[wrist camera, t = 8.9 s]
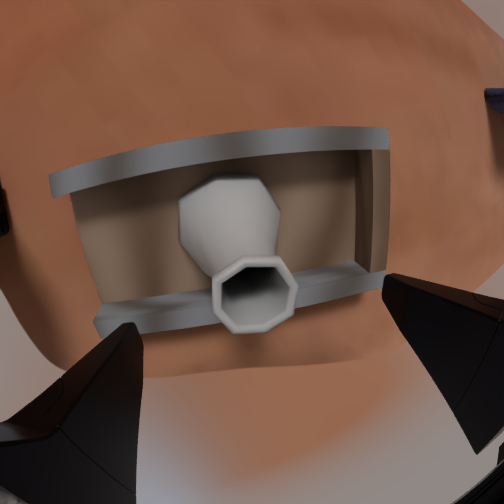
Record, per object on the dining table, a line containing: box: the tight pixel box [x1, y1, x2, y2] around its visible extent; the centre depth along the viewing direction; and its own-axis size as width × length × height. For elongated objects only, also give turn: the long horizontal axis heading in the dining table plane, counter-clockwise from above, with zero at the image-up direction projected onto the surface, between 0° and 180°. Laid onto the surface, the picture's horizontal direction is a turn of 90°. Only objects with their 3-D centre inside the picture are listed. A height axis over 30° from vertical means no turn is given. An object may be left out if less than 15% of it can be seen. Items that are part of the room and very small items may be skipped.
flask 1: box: [178, 173, 299, 334], centre depth 14 cm, size 7×7×10 cm
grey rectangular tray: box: [48, 126, 390, 338], centre depth 18 cm, size 22×12×4 cm, turn 96°
